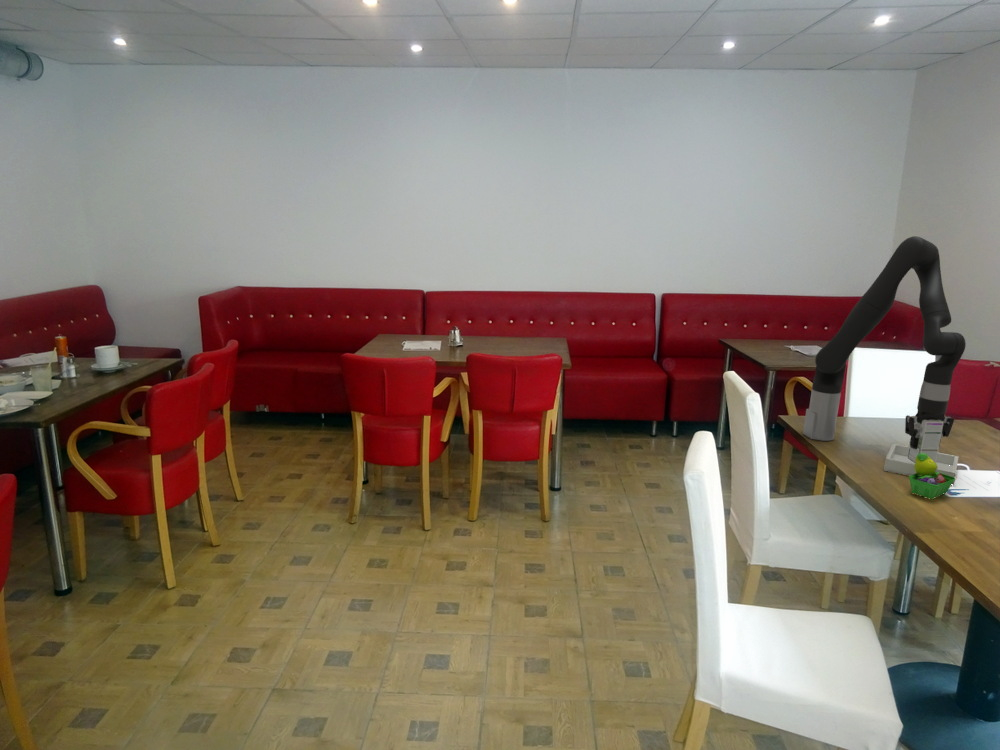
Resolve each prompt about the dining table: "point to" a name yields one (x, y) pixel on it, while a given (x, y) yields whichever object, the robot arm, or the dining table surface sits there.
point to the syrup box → (927, 439)
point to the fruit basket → (928, 478)
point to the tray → (902, 465)
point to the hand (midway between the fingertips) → (924, 448)
